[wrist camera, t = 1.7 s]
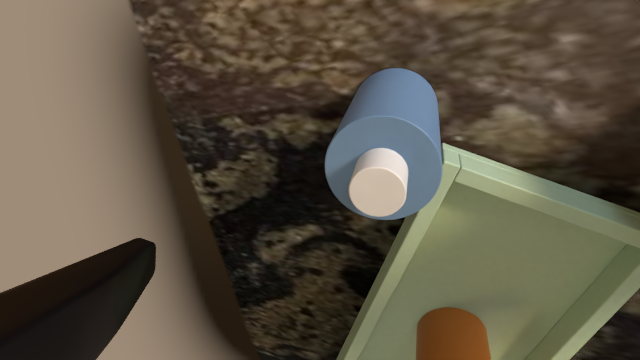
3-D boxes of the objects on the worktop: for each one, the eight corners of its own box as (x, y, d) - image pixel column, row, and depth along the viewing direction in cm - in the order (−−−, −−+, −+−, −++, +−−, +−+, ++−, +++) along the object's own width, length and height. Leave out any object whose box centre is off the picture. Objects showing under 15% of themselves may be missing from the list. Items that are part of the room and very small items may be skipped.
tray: (658, 218, 19) (682, 246, 17) (462, 436, 30) (464, 467, 28) (442, 142, 20) (443, 160, 18) (324, 382, 30) (318, 409, 29)
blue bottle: (452, 84, 18) (467, 161, 12) (417, 159, 21) (413, 261, 14) (368, 55, 19) (334, 113, 12) (342, 132, 21) (300, 219, 14)
